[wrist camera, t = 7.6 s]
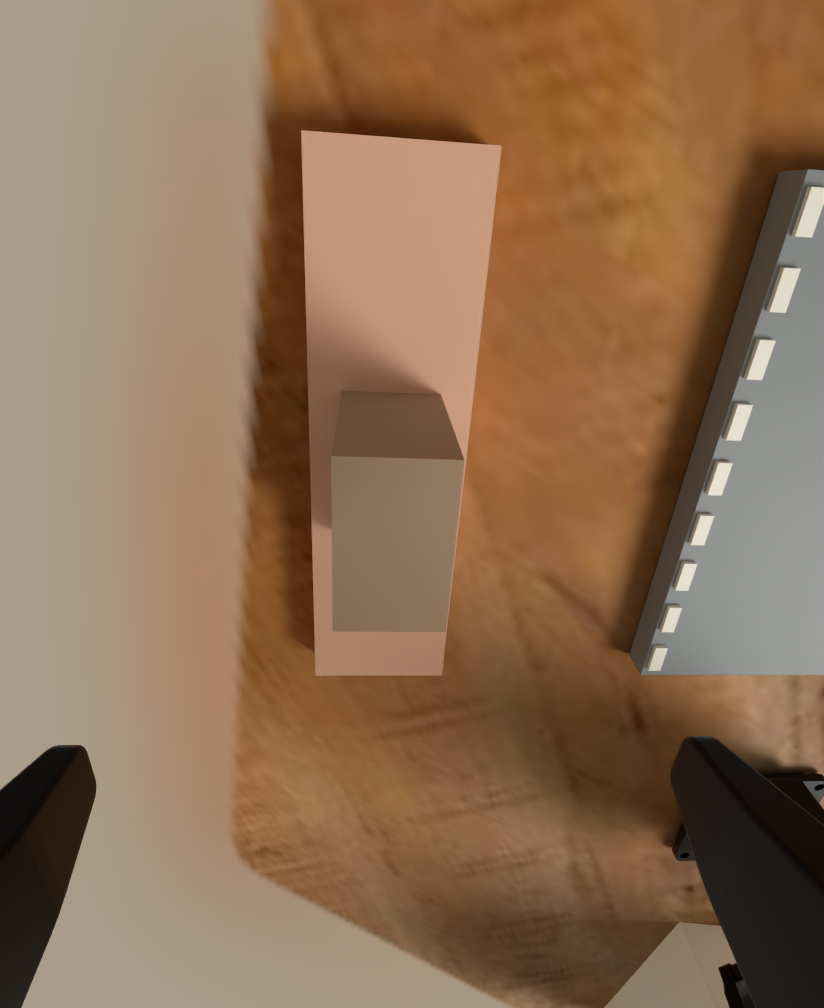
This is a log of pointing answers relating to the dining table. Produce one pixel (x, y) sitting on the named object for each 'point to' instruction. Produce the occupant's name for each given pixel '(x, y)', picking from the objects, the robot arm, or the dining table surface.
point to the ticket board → (754, 475)
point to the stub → (390, 386)
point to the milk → (680, 971)
